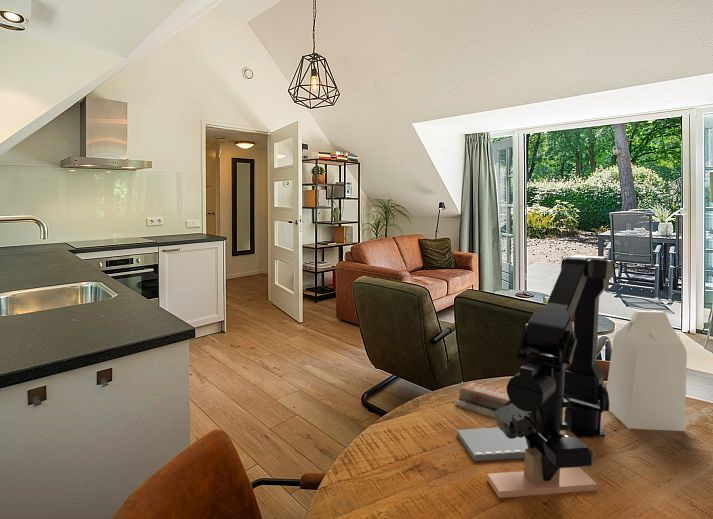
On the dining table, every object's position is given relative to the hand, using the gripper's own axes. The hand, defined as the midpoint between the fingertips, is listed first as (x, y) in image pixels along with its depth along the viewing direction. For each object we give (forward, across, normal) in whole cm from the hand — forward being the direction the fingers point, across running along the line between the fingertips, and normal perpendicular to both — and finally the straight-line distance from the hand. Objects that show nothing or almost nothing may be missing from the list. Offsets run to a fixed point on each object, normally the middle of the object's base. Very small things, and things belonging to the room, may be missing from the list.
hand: (541, 474), depth 76 cm
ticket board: (+2, -13, 0) cm, 14 cm away
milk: (+2, -22, +38) cm, 44 cm away
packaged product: (+3, -30, +5) cm, 30 cm away
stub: (+2, 0, 0) cm, 2 cm away
